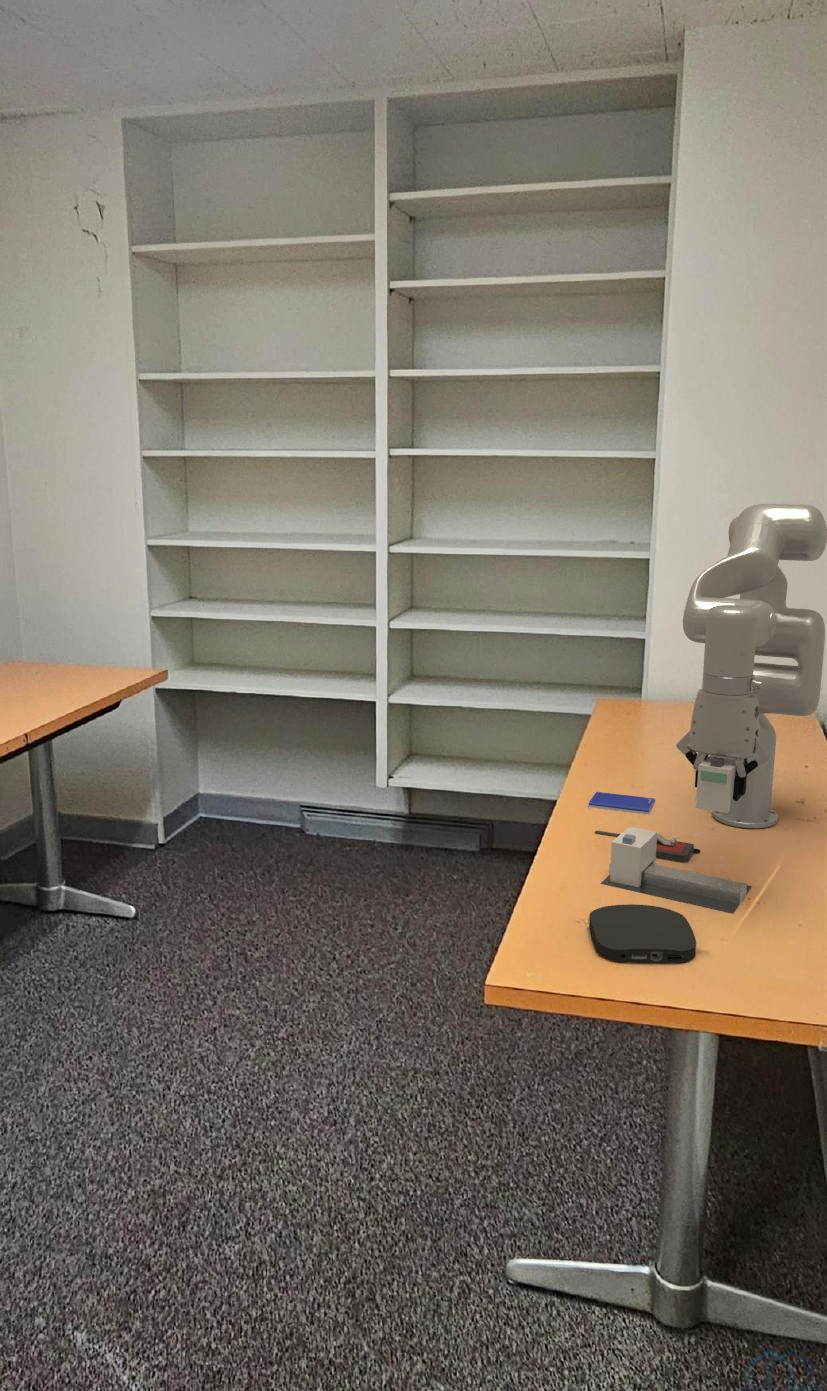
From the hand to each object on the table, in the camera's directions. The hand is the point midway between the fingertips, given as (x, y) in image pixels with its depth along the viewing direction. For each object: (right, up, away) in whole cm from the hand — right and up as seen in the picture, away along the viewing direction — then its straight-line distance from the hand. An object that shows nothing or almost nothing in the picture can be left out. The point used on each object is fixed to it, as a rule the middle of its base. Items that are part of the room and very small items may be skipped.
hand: (719, 794), depth 162 cm
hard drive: (-6, -8, +49) cm, 50 cm away
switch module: (0, -1, 0) cm, 1 cm away
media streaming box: (-15, -21, -10) cm, 28 cm away
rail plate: (-5, -17, +7) cm, 19 cm away
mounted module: (-12, -15, +11) cm, 22 cm away
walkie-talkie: (-7, -13, +23) cm, 28 cm away
